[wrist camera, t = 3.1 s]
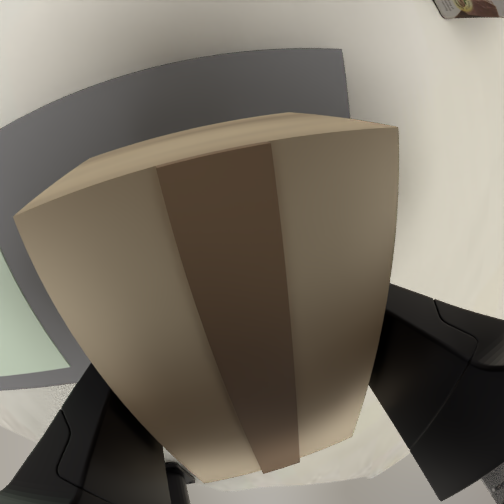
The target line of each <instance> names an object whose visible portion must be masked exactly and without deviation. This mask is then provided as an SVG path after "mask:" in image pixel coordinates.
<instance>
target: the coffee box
mask: <svg viewBox="0 0 504 504" xmlns="http://www.w3.org/2000/svg"><path fill="white" fill-rule="evenodd" d="M434 1H435V3H436V5H437V7H438V9H439V11H440V12H441V15H442V16H443V17H444V18H446V19H452V18H477V17H500V18H504V0H434Z"/></svg>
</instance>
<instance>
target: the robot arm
mask: <svg viewBox="0 0 504 504" xmlns="http://www.w3.org/2000/svg"><path fill="white" fill-rule="evenodd" d="M368 385H369V386H370V388H371V389H372V391H373V393H374V394H375V396H376V397H377V399H378V400H379V402H380V404H381V405H382V407H383V408H384V410H385V411H386V413H387V415H388V416H389V418H390V419H391V421H392V423H393V424H394V426H395V427H396V429H397V431H398V432H399V434H400V435H401V437H402V439H403V440H404V442H405V443H406V445H407V447H408V448H409V449H410V452H411V454H412V455H413V457H414V458H415V460H416V462H417V463H418V465H419V467H420V468H421V470H422V472H423V473H424V475H425V477H426V478H427V480H428V482H429V483H430V485H431V487H432V488H433V490H434V491H435V493H436V495H437V497H438V498H439V500H440V501H443V500H445V499H447V498H449V497H451V496H452V495H454V494H456V493H458V492H460V491H461V490H463V489H465V488H466V487H468V486H470V485H471V484H473V483H474V482H476V481H478V480H479V479H481V480H482V482H483V483H484V485H485V486H486V488H487V489H488V491H489V492H490V494H491V495H492V497H493V498H494V500H495V501H496V503H497V504H504V320H501V319H498V318H494V317H490V316H487V315H483V314H479V313H476V312H472V311H469V310H466V309H462V308H459V307H456V306H453V305H450V304H447V303H445V302H442V301H439V300H436V299H434V300H433V298H430V297H428V296H425V295H422V294H419V293H416V292H414V291H411V290H408V289H405V288H402V287H399V286H397V285H394V284H391V283H389V290H388V296H387V302H386V308H385V314H384V319H383V324H382V329H381V334H380V339H379V343H378V348H377V352H376V357H375V361H374V365H373V369H372V373H371V377H370V380H369V384H368ZM61 408H62V410H59V412H58V413H57V415H56V416H55V418H54V420H53V421H52V423H51V424H50V426H49V427H48V429H47V431H46V432H45V434H44V435H43V437H42V438H41V439H40V441H39V442H38V444H37V445H36V447H35V448H34V449H33V451H32V452H31V454H30V455H29V456H28V458H27V459H26V461H25V462H24V463H23V465H22V466H21V468H20V469H19V471H18V472H17V473H16V475H15V476H14V478H13V479H12V481H11V482H10V483H9V484H8V485H7V486H6V487H5V488H4V489H3V490H1V491H0V504H190V500H189V496H188V491H187V486H186V484H191V483H195V479H194V478H193V477H192V476H191V475H189V474H188V473H187V472H186V471H185V470H183V469H182V468H181V467H180V466H179V465H178V464H175V463H170V464H165V461H164V453H163V446H162V445H161V444H160V443H159V442H158V441H157V440H156V439H155V438H154V437H153V436H152V435H151V434H150V432H149V431H148V430H147V429H146V428H145V427H144V426H143V425H142V424H141V423H140V422H139V421H138V420H137V418H136V417H135V416H134V415H133V414H132V413H131V412H130V411H129V409H128V408H127V407H126V406H125V405H124V404H123V402H122V401H121V400H120V399H119V398H118V396H117V395H116V394H115V393H114V392H113V390H112V389H111V388H110V386H109V385H108V384H107V383H106V381H105V380H104V379H103V377H102V376H101V375H100V374H99V372H98V371H97V369H96V368H95V367H94V365H93V364H92V363H90V365H89V366H88V368H87V369H86V371H85V372H84V374H83V375H82V377H81V378H80V380H79V381H78V383H77V384H76V386H75V387H74V389H73V390H72V392H71V393H70V395H69V396H68V398H67V399H66V401H65V402H64V404H63V406H62V407H61Z"/></svg>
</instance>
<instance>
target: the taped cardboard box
mask: <svg viewBox="0 0 504 504" xmlns="http://www.w3.org/2000/svg"><path fill="white" fill-rule="evenodd" d="M398 182H399V134H398V127H395V126H390V125H385V124H379V123H374V122H368V121H362V120H355V119H348V118H341V117H333V116H325V115H315V114H305V113H293V112H287V113H279V114H271V115H264V116H257V117H251V118H244V119H238V120H233V121H227V122H222V123H217V124H212V125H207V126H202V127H197V128H193V129H189V130H184V131H180V132H176V133H172V134H168V135H164V136H160V137H156V138H153V139H149V140H145V141H142V142H138V143H135V144H132V145H128V146H125V147H122V148H119V149H116V150H112V151H109V152H106V153H103V154H100V155H98V156H95V157H92V158H89V159H88V160H86V161H85V162H83V163H82V164H80V165H79V166H77V167H76V168H74V169H73V170H72V171H70V172H69V173H67V174H66V175H65V176H63V177H62V178H60V179H59V180H58V181H56V182H55V183H54V184H52V185H51V186H50V187H48V188H47V189H46V190H44V191H43V192H42V193H41V194H39V195H38V196H37V197H36V198H34V199H33V200H32V201H31V202H29V203H28V204H27V205H26V206H25V207H23V208H22V209H21V210H20V211H19V212H18V213H16V214H15V215H14V216H13V218H14V221H15V224H16V226H17V229H18V231H19V234H20V236H21V238H22V241H23V243H24V245H25V248H26V250H27V252H28V254H29V257H30V259H31V261H32V263H33V265H34V267H35V269H36V271H37V273H38V275H39V277H40V279H41V281H42V283H43V285H44V287H45V289H46V291H47V292H48V294H49V296H50V298H51V300H52V302H53V303H54V305H55V307H56V309H57V310H58V312H59V314H60V315H61V317H62V319H63V320H64V322H65V324H66V325H67V327H68V328H69V330H70V332H71V333H72V335H73V336H74V338H75V339H76V341H77V342H78V344H79V345H80V347H81V348H82V350H83V351H84V353H85V354H86V356H87V357H88V358H89V360H90V361H91V363H92V364H93V365H94V367H95V368H96V369H97V371H98V372H99V374H100V375H101V376H102V377H103V379H104V380H105V381H106V383H107V384H108V385H109V386H110V388H111V389H112V390H113V392H114V393H115V394H116V395H117V396H118V398H119V399H120V400H121V401H122V402H123V404H124V405H125V406H126V407H127V408H128V409H129V411H130V412H131V413H132V414H133V415H134V416H135V417H136V418H137V420H138V421H139V422H140V423H141V424H142V425H143V426H144V427H145V428H146V429H147V430H148V431H149V432H150V434H151V435H152V436H153V437H154V438H155V439H156V440H157V441H158V442H159V443H160V444H161V445H162V446H163V447H164V448H165V449H166V450H167V451H168V452H170V453H171V454H172V455H173V456H174V457H175V458H176V459H177V460H178V461H179V462H180V463H181V464H182V465H184V466H185V467H186V468H187V469H188V470H189V471H190V472H191V473H193V474H194V475H195V476H196V477H197V478H198V479H200V480H201V481H202V482H203V483H209V482H214V481H219V480H224V479H228V478H233V477H237V476H241V475H245V474H249V473H253V472H257V471H260V470H262V472H263V474H264V473H268V472H271V471H274V470H278V469H281V468H284V467H287V466H290V465H293V464H296V463H299V462H300V458H301V457H304V456H306V455H309V454H312V453H314V452H317V451H320V450H322V449H325V448H327V447H330V446H332V445H334V444H337V443H339V442H341V441H343V440H346V439H348V438H350V437H352V436H353V433H354V430H355V427H356V424H357V421H358V418H359V415H360V411H361V408H362V405H363V402H364V398H365V395H366V391H367V388H368V384H369V380H370V377H371V373H372V369H373V365H374V361H375V357H376V352H377V348H378V343H379V339H380V334H381V329H382V324H383V319H384V314H385V308H386V302H387V296H388V290H389V283H390V277H391V269H392V261H393V253H394V243H395V233H396V220H397V205H398Z"/></svg>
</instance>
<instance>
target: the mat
mask: <svg viewBox="0 0 504 504" xmlns="http://www.w3.org/2000/svg"><path fill="white" fill-rule="evenodd" d="M287 112H293V113H305V114H315V115H325V116H333V117H341V118H348V119H350V113H349V102H348V92H347V83H346V75H345V67H344V60H343V53H342V49H323V48H293V49H270V50H256V51H245V52H235V53H227V54H220V55H213V56H206V57H200V58H195V59H189V60H184V61H179V62H174V63H170V64H165V65H161V66H157V67H153V68H149V69H145V70H141V71H138V72H134V73H131V74H127V75H124V76H121V77H117V78H114V79H111V80H108V81H105V82H102V83H99V84H96V85H94V86H91V87H88V88H86V89H83V90H80V91H78V92H75V93H73V94H70V95H68V96H65V97H63V98H61V99H58V100H56V101H54V102H52V103H49V104H47V105H45V106H43V107H41V108H39V109H37V110H35V111H33V112H31V113H29V114H27V115H25V116H23V117H21V118H19V119H17V120H15V121H14V122H12V123H10V124H8V125H6V126H5V127H3V128H1V129H0V391H2V390H16V389H28V388H38V387H48V386H56V385H64V384H71V383H78V381H79V380H80V378H81V377H82V375H83V374H84V372H85V371H86V369H87V368H88V366H89V365H90V363H91V361H90V360H89V358H88V357H87V356H86V354H85V353H84V351H83V350H82V348H81V347H80V345H79V344H78V342H77V341H76V339H75V338H74V336H73V335H72V333H71V332H70V330H69V328H68V327H67V325H66V324H65V322H64V320H63V319H62V317H61V315H60V314H59V312H58V310H57V309H56V307H55V305H54V303H53V302H52V300H51V298H50V296H49V294H48V292H47V291H46V289H45V287H44V285H43V283H42V281H41V279H40V277H39V275H38V273H37V271H36V269H35V267H34V265H33V263H32V261H31V259H30V257H29V254H28V252H27V250H26V248H25V245H24V243H23V241H22V238H21V236H20V234H19V231H18V229H17V226H16V224H15V221H14V218H13V216H14V215H15V214H16V213H18V212H19V211H20V210H21V209H22V208H23V207H25V206H26V205H27V204H28V203H29V202H31V201H32V200H33V199H34V198H36V197H37V196H38V195H39V194H41V193H42V192H43V191H44V190H46V189H47V188H48V187H50V186H51V185H52V184H54V183H55V182H56V181H58V180H59V179H60V178H62V177H63V176H65V175H66V174H67V173H69V172H70V171H72V170H73V169H74V168H76V167H77V166H79V165H80V164H82V163H83V162H85V161H86V160H88V159H89V158H92V157H95V156H98V155H100V154H103V153H106V152H109V151H112V150H116V149H119V148H122V147H125V146H128V145H132V144H135V143H138V142H142V141H145V140H149V139H153V138H156V137H160V136H164V135H168V134H172V133H176V132H180V131H184V130H189V129H193V128H197V127H202V126H207V125H212V124H217V123H222V122H227V121H233V120H238V119H244V118H251V117H257V116H264V115H271V114H279V113H287Z"/></svg>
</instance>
